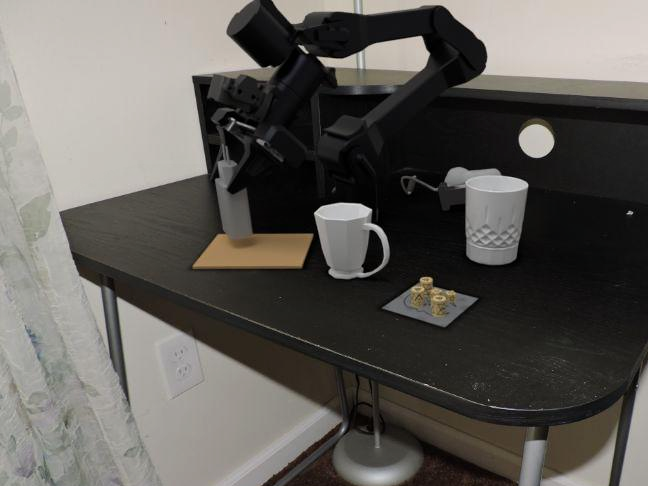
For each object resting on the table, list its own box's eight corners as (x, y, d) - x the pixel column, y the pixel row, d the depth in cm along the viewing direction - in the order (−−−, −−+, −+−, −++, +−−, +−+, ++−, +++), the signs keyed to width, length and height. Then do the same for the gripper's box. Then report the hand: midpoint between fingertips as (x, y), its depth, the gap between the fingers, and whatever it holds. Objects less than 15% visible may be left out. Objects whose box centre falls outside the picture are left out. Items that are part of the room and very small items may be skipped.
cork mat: (313, 236, 84) (313, 233, 84) (301, 268, 73) (301, 265, 73) (218, 236, 84) (218, 234, 84) (192, 269, 73) (192, 266, 73)
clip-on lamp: (390, 216, 101) (482, 211, 91) (381, 182, 99) (474, 172, 88) (423, 194, 110) (510, 187, 99) (415, 162, 107) (504, 151, 97)
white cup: (484, 271, 72) (489, 194, 68) (450, 251, 78) (454, 179, 74) (533, 260, 75) (541, 186, 71) (497, 242, 82) (503, 172, 77)
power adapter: (231, 240, 77) (217, 150, 71) (221, 228, 81) (207, 142, 75) (254, 235, 78) (242, 147, 72) (243, 224, 82) (231, 139, 77)
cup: (341, 257, 76) (339, 199, 73) (404, 274, 72) (404, 212, 68) (306, 275, 71) (301, 213, 68) (371, 294, 66) (369, 229, 63)
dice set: (441, 318, 61) (442, 302, 60) (401, 306, 64) (401, 291, 63) (463, 300, 65) (463, 285, 64) (424, 290, 67) (424, 275, 66)
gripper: (214, 45, 78) (148, 138, 77) (274, 52, 64) (194, 164, 63) (274, 100, 85) (214, 185, 85) (338, 116, 72) (267, 217, 71)
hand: (220, 187), depth 76 cm, fingers closed on power adapter, 5 cm apart
